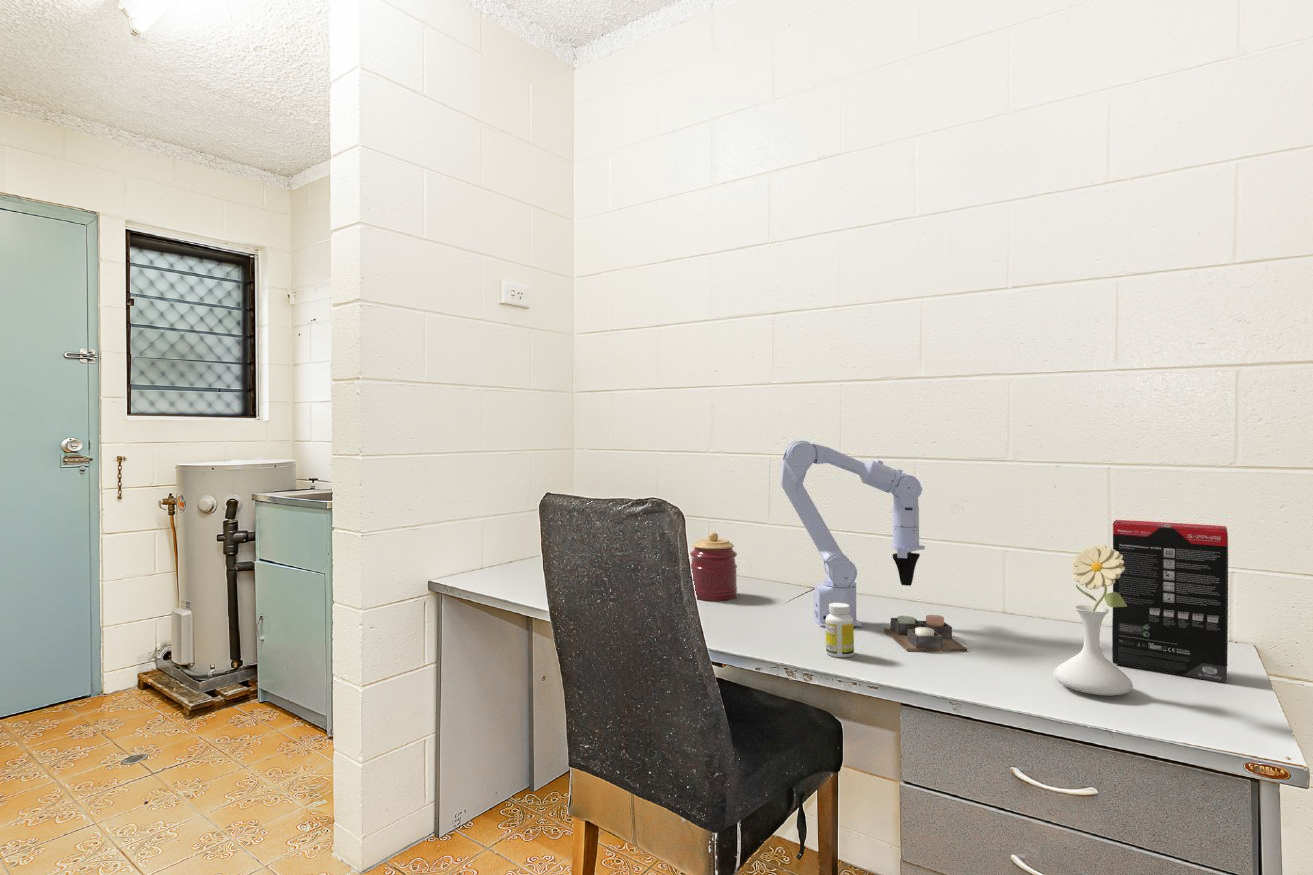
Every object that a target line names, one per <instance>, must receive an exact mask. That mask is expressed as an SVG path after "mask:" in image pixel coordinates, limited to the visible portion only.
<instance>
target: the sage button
mask: <svg viewBox="0 0 1313 875" xmlns="http://www.w3.org/2000/svg"><path fill="white" fill-rule="evenodd" d="M897 618H898V623H907V624H915V619H916V617H914V616H910V615H898V616H897Z"/></svg>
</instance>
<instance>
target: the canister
mask: <svg viewBox="0 0 1313 875" xmlns="http://www.w3.org/2000/svg"><path fill="white" fill-rule="evenodd" d="M692 547H694V549H693V550H692V551H690V553H689V555H690V556H691V564H690V565H691V567H690V570H691V569H692V573H693V581H694V585H695V591H696V595H697V600H702V601H712V602H713V601H715V602H716V601H719V602H720V601H729V600H733V599H735V598H736V597H737V593H738V586H737V567H738V564H736V557H737V556H738V553H737V552H736V551H735V550H734V549H733V548H734V547H735V545H734V544H733V543H731V542H730V541H729V540H727V539H723V538H719V535H718V533H716V532H714V531H713V532H710V533H709V535H708V538H702V539H698V541H696V542H695V543H693V545H692Z"/></svg>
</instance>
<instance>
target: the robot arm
mask: <svg viewBox="0 0 1313 875" xmlns="http://www.w3.org/2000/svg"><path fill="white" fill-rule="evenodd" d="M782 456H783V457H782V464H781V465H782V467H781V468H782V469H781V477H780V478H781V479H780V485H781V487H782V489H783V492H784V493H785V495H786V496H787V498H788V500H789V501H790V503H791V504H792V507H793V508H794V511H795V512H796V513H797V515H798V517H799V519H800V520H801V522H802V524H803V526H804V528H805V530H806V531H807V533H808V534H809V536H810V538H811V540H812V542H813V544H814V545H815V546H816V549H817V551H818V552H819V555H820V556H821V558H822V560H823V566H824V571H825V573H826V574H827V577H826V579H825V580H824V583H823V584H815V586H814V592H813V594H814V595H813V602H814V603H813V605H814V606H813V609H814V610H813V612H814V615H813V619H814V620H815V622H816V623H817V624H818V625H819V626H820V627H826V617H827V615H829V614H830V612H829V604H831V603H845V604H848V605H849V606H850V611H849V613H848V615H850V616H851V617H852V618H853V627H863V624H862V623H861V622H860V621H859V620H858V619H857V582H855V581H856V580H857V576H858V570H857V567H856V565H855V563H853V562H852V561H851V560H850V559H849V557H848V556H847V555H845V554H844V553H843V551H842V549H841V548H840V547H839V545H838V544H837V541H836V540H835V538H834V537H833V535H832V533H831V531H830V529H829V528H828V526H827V524H826V522H825V521H824V519H823V517H822V515H821V514H820V511H818V508H817V507H816V505H815V503H814V501H813V499H812V498H811V496H810V495H809V493H808V491H807V490H806V487H805V486H804V482H805V481H804V480H805V478H806V476H807V472H808V470H809V469H810V467H811V466H812V465H813V464H816V465H823V464H830V465H831V466H835V467H836V468H840V469H842V470H844V471H847V472H851V473H853V474H856V475H858V476H859V478H860V481H861V482H862V483H863V484H865V485H868V486H870V487H872V488H874V489H876V490H879V491H882V492H885V493H886V494H887V493H888V494H889V493H891V495H892V497H893V498H892V499H893V500H892V501H893V502H892V503H893V504H892V544H891V547H892V549H893V550H895V551H896V553H892V559H893V561H894V562H895V565H896V569H897V571H898V572H897V573H898V575H899V576H898V577H899V581H900V584H901V586H908V587H911V586H912V583H913V579H914V574H915V570H916V566H917V563H918V560H919V558H920V556H921V554H920V553H917V552H915V551H919V550H921V551H922V550H923V551H924V550H925V549H926V546H925V545H920V507H919V497H920V496H921V495H922V492H923V487H922V485H921V483H920V480H918V478H916V477H915V476H914V475H911V474H907V473H905V472H904V473H903V471H904V470H902V469H901V468H897V469H895V468H892V467H889V466H888V465H885V464H884V462H883V461H882V460H879V459H877V460H873V459H872V460H869V461H866V462H863V461H860V460H858V459H856V458H854V457H852V456H848V455H846V454H844V453H842V452H840V451H837V450H835V449H833V448H831V447H828V446H824V445H821V444H816V443H810V442H809V441H807V440H795V441H793V442H791V443H790V444H789V445H788V446H787V447H786V449H785V452H784V454H783V455H782Z"/></svg>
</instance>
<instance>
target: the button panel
mask: <svg viewBox="0 0 1313 875" xmlns="http://www.w3.org/2000/svg"><path fill="white" fill-rule="evenodd" d="M917 627H926V628H931V629H933V630H934V636H917V635H916V634H915V628H917ZM883 632H884V633H886V634H887V635H888V636H889V637H890V638H891V639H893V640H894V642H896V643H897V644H898V645H899V646H901V647H902V648H903V649H904V650H905V651H907V652H953V653H954V652H957V653H958V652H960V653H961V652H966V653H967V652H968V648H967V647H966V646H964V645H963V644H961V643H960V642H959V641H957V640H956V639H954V638H953V627H952V625H950V624H948V623H947V622H945V621H944V627H928V626H927V625H926V620H918V619H917V618H915V624H907V623H898V617H890V628H888V627H886V628H885V627H884V628H883Z"/></svg>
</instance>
